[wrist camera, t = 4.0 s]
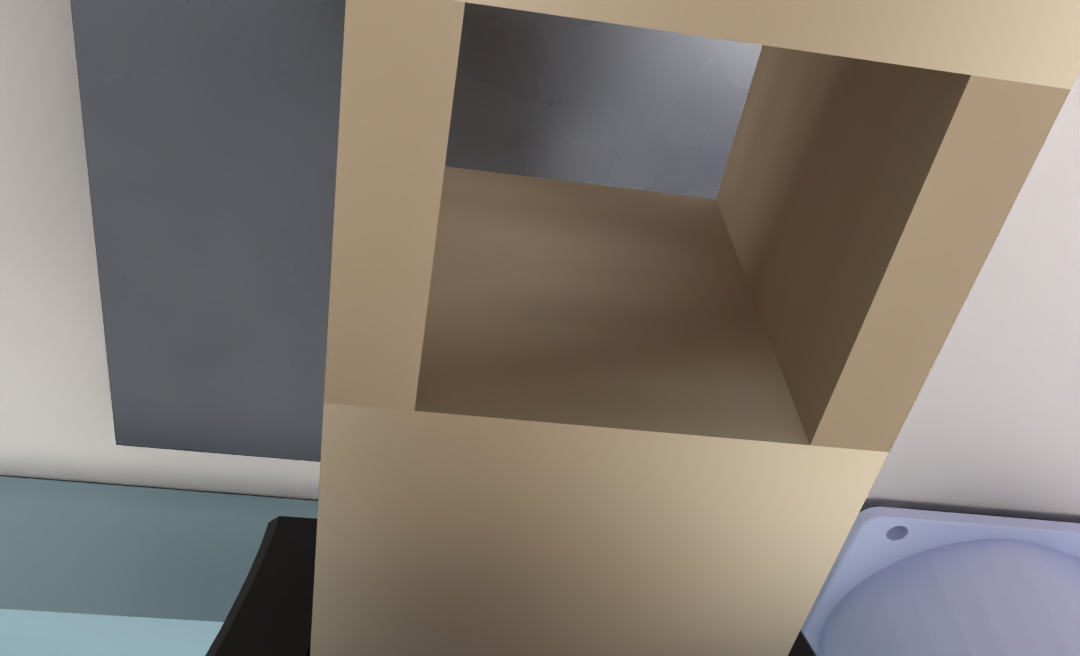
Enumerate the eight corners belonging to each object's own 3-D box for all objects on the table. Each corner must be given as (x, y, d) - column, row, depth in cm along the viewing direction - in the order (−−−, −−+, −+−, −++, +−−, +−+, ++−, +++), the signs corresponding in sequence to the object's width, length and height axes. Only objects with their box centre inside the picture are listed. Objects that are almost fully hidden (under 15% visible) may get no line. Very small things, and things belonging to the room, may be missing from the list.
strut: (900, -163, 8) (1123, -17, 5) (588, 746, 16) (614, 1003, 13) (395, -253, 8) (355, -140, 5) (324, 735, 15) (290, 1001, 12)
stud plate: (1105, -397, 14) (1254, -381, 11) (746, 472, 24) (780, 589, 22) (27, -643, 12) (-99, -693, 9) (126, 418, 22) (78, 540, 20)
